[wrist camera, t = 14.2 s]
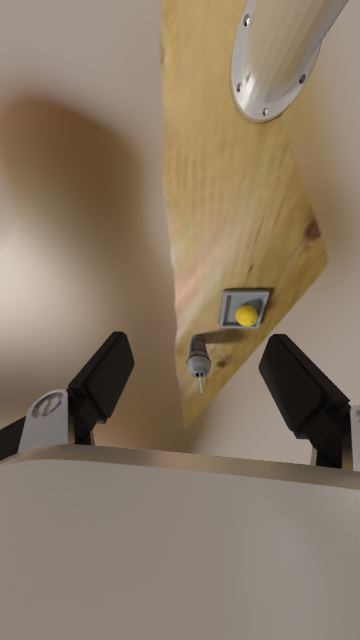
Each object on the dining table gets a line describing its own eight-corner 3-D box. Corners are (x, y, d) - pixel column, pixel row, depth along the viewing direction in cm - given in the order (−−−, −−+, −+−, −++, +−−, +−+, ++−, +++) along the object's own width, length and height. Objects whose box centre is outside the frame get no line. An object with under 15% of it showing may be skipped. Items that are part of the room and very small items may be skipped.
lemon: (231, 317, 44) (238, 331, 37) (234, 301, 41) (242, 313, 35) (248, 317, 44) (259, 331, 37) (253, 301, 41) (265, 313, 34)
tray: (223, 289, 41) (224, 292, 38) (265, 289, 40) (269, 292, 37) (218, 323, 47) (219, 327, 45) (255, 324, 46) (258, 328, 44)
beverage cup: (202, 328, 48) (207, 378, 31) (210, 342, 51) (219, 395, 34) (184, 335, 50) (180, 385, 33) (193, 349, 54) (193, 401, 36)
